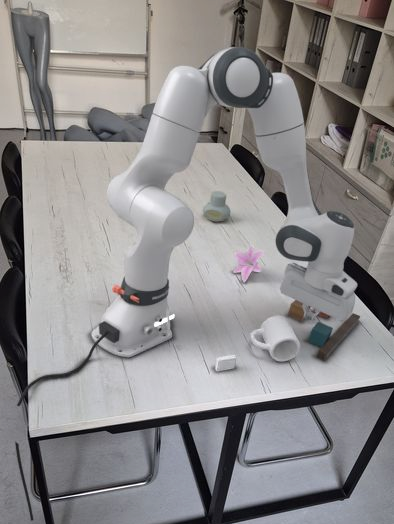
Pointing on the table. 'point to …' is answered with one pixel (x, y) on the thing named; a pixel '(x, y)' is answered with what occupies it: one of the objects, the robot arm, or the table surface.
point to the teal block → (320, 334)
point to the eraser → (225, 363)
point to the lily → (248, 262)
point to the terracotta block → (322, 314)
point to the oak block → (297, 311)
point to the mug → (277, 338)
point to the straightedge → (338, 337)
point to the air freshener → (217, 207)
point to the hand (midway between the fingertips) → (309, 318)
